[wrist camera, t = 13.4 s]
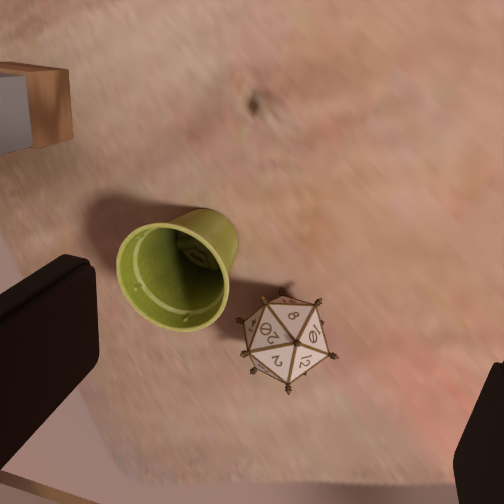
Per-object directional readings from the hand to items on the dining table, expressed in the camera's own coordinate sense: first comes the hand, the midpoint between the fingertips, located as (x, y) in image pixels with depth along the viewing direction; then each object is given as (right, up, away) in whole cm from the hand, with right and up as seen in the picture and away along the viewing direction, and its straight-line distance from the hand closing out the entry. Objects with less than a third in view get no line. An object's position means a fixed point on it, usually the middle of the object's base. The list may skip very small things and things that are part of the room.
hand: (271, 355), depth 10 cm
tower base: (-20, +16, +31) cm, 40 cm away
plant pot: (-4, +4, +32) cm, 32 cm away
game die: (+4, -3, +33) cm, 33 cm away
